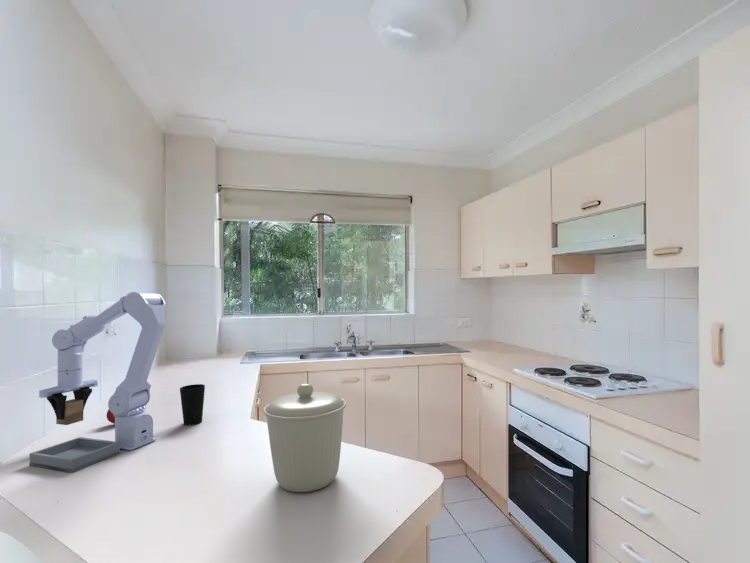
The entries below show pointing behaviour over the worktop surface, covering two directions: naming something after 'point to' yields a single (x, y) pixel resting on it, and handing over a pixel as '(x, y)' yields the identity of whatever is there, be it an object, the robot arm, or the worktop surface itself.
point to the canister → (305, 438)
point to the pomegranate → (110, 417)
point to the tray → (74, 454)
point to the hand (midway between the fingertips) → (70, 416)
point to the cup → (192, 403)
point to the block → (72, 412)
